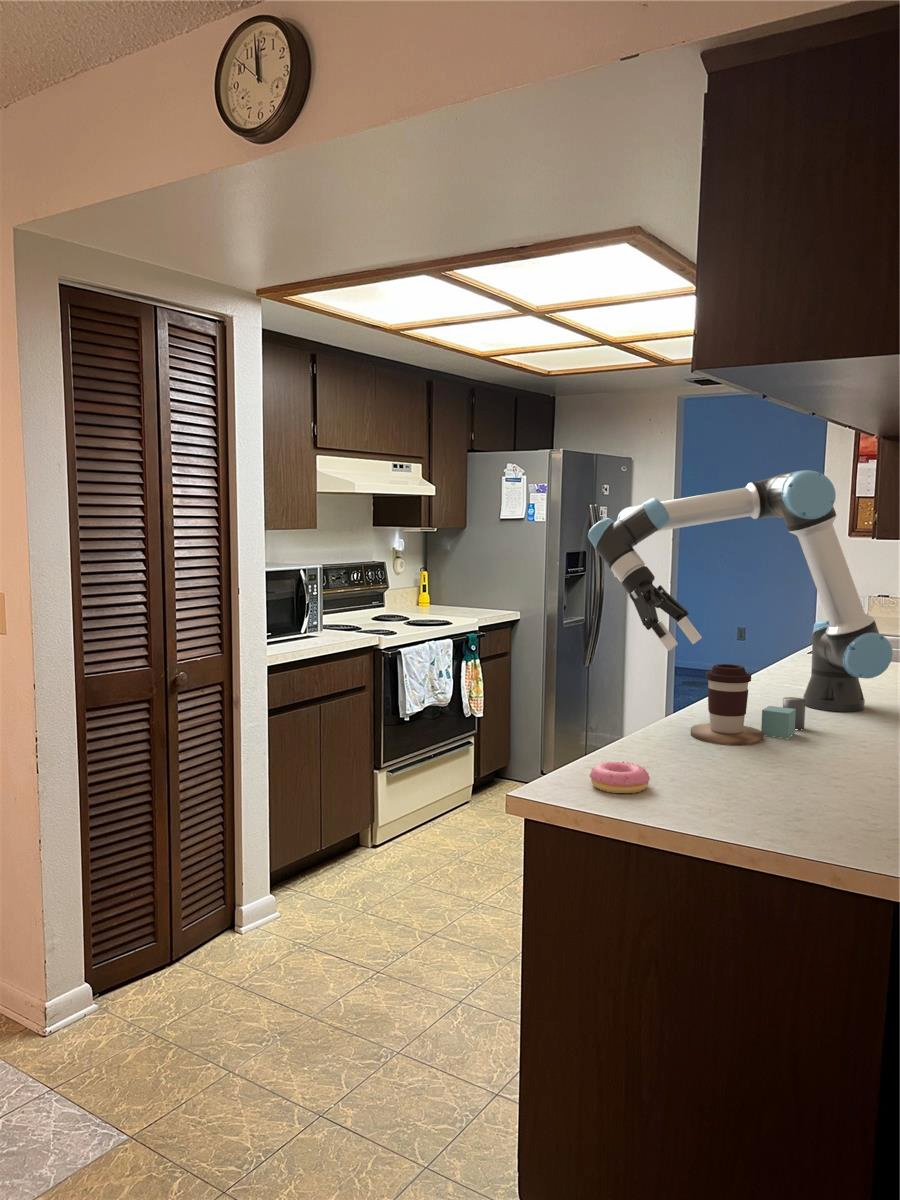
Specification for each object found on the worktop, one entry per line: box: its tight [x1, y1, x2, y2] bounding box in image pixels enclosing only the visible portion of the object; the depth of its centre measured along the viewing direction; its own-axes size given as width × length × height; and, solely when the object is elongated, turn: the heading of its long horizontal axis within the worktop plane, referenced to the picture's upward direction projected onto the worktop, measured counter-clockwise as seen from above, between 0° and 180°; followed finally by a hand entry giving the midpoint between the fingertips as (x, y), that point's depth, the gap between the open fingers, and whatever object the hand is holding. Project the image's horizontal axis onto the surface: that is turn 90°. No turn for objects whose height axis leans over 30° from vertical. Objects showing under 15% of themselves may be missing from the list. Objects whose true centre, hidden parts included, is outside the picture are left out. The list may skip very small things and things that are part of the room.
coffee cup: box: [705, 663, 752, 734], centre depth 207 cm, size 10×10×15 cm
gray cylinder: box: [782, 696, 806, 731], centre depth 216 cm, size 5×5×7 cm
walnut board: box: [690, 722, 765, 746], centre depth 208 cm, size 16×16×1 cm
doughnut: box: [588, 761, 651, 794], centre depth 168 cm, size 11×11×4 cm
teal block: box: [760, 705, 796, 739], centre depth 209 cm, size 6×6×6 cm
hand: (685, 644), depth 214 cm, fingers open, 13 cm apart
